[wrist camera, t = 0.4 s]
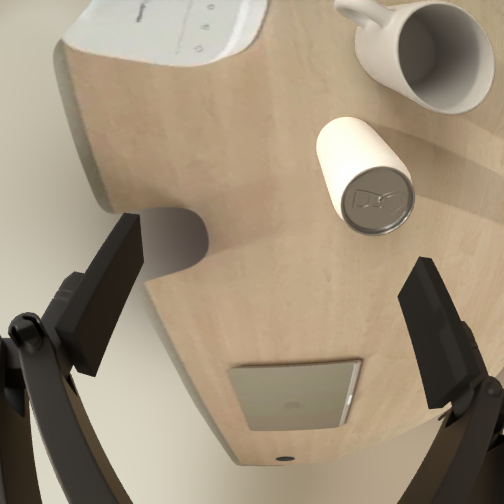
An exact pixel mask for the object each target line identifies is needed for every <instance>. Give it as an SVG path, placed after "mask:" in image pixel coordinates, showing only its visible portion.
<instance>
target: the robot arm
mask: <svg viewBox="0 0 504 504" xmlns="http://www.w3.org/2000/svg"><path fill="white" fill-rule="evenodd" d="M143 263H144V257H143V247H142V238H141V225H140V215H138V214H130V213H124V214H123V215H122V217H121V218H120V220H119V221H118V222H117V224H116V225H115V227H114V229H113V230H112V231H111V233H110V234H109V236H108V238H107V239H106V240H105V242H104V243H103V245H102V247H101V248H100V250H99V251H98V253H97V254H96V256H95V257H94V259H93V261H92V262H91V264H90V266H89V267H88V269H87V270H86V272H85V274H84V273H79V272H73V273H72V274H71V275H69V276H68V277H67V278H66V279H65V280H64V281H63V283H62V284H61V286H60V288H59V291H57V292H56V294H55V296H54V299H52V301H51V302H50V304H49V306H48V307H47V309H46V311H45V313H44V314H43V316H42V318H41V320H40V318H39V316H37V315H36V314H35V313H30V312H26V313H22V314H20V315H18V316H16V317H15V318H14V319H13V321H11V324H10V326H9V329H8V334H9V336H10V337H11V338H2V337H1V336H0V504H42V500H41V495H40V490H39V485H38V480H37V474H36V467H35V461H34V453H33V446H32V437H31V436H32V435H31V425H30V410H29V400H30V403H31V407H32V410H33V414H34V417H35V420H36V423H37V426H38V429H39V432H40V435H41V438H42V441H43V444H44V446H45V449H46V452H47V454H48V457H49V460H50V462H51V465H52V467H53V469H54V472H55V474H56V477H57V479H58V481H59V483H60V485H61V488H62V490H63V492H64V494H65V496H66V498H67V500H68V502H69V504H133V502H132V501H131V500H130V497H129V496H128V494H127V493H126V491H125V489H124V487H123V486H122V484H121V482H120V481H119V479H118V477H117V475H116V473H115V471H114V470H113V468H112V466H111V464H110V462H109V460H108V458H107V456H106V454H105V453H104V450H103V448H102V446H101V444H100V442H99V440H98V438H97V436H96V434H95V431H94V429H93V427H92V425H91V423H90V420H89V418H88V416H87V413H86V411H85V409H84V407H83V404H82V401H81V399H80V396H79V394H78V391H77V389H76V386H75V383H74V381H73V378H72V375H71V374H70V371H71V369H72V366H73V365H74V366H75V368H76V370H77V372H79V373H83V374H86V375H89V376H92V377H95V376H96V374H97V371H98V368H99V366H100V363H101V360H102V358H103V355H104V353H105V350H106V347H107V345H108V343H109V340H110V338H111V335H112V333H113V330H114V328H115V326H116V323H117V321H118V319H119V316H120V314H121V312H122V309H123V307H124V305H125V302H126V300H127V298H128V296H129V293H130V291H131V289H132V287H133V285H134V282H135V280H136V278H137V276H138V274H139V272H140V269H141V267H142V265H143ZM397 297H398V300H399V303H400V306H401V309H402V312H403V315H404V318H405V321H406V325H407V328H408V331H409V334H410V338H411V341H412V345H413V348H414V352H415V355H416V359H417V363H418V367H419V370H420V374H421V378H422V382H423V386H424V390H425V395H426V399H427V403H428V408H429V409H436V408H443V407H444V406H445V405H446V404H448V403H449V402H450V401H451V404H452V407H451V408H450V409H449V410H447V411H446V412H445V413H444V414H443V415H441V416H440V417H439V419H438V420H439V421H440V420H441V419H442V418H444V417H445V418H444V421H443V422H442V425H441V427H440V429H439V431H438V433H437V435H436V437H435V440H434V441H433V444H432V445H431V447H430V449H429V451H428V453H427V455H426V457H425V458H424V460H423V462H422V464H421V466H420V467H419V469H418V471H417V473H416V474H415V476H414V478H413V479H412V481H411V483H410V484H409V486H408V487H407V489H406V491H405V492H404V494H403V495H402V497H401V499H400V500H399V501H398V503H397V504H504V435H503V429H504V389H503V388H502V385H501V384H500V382H499V381H498V380H497V379H496V378H494V377H492V376H489V375H488V372H487V369H486V367H485V364H484V361H483V358H482V356H481V353H480V351H479V349H478V346H477V343H476V341H475V338H474V336H473V333H472V331H471V329H470V328H469V327H468V325H467V324H466V323H465V321H461V320H460V317H459V315H458V313H457V311H456V308H455V306H454V304H453V302H452V299H451V297H450V295H449V293H448V291H447V289H446V287H445V284H444V282H443V280H442V278H441V276H440V274H439V272H438V270H437V268H436V266H435V264H434V262H433V260H432V259H431V258H426V257H420V256H419V258H418V260H417V262H416V264H415V266H414V267H413V269H412V271H411V273H410V275H409V277H408V279H407V280H406V282H405V284H404V286H403V288H402V289H401V291H400V293H399V295H398V296H397Z"/></svg>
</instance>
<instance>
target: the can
mask: <svg viewBox="0 0 504 504" xmlns="http://www.w3.org/2000/svg"><path fill="white" fill-rule="evenodd" d="M316 148H317V155H318V158H319V162H320V165H321V168H322V171H323V174H324V178H325V181H326V184H327V187H328V190H329V194H330V197H331V200H332V203H333V205H334V208H335V210H336V212H337V213H338V215H339V216H340V217H341V218H342V219H343V220H344V221H345V222H346V223H347V225H348V226H349V227H350V228H351V229H353V230H354V231H356V232H358V233H360V234H363V235H368V236H379V235H384V234H387V233H390V232H392V231H394V230H396V229H397V228H399V227H400V226H401V225H402V224H403V223H404V222H405V221H406V220H407V219H408V217H409V216H410V214H411V212H412V210H413V207H414V203H415V192H414V188H413V185H412V179H411V176H410V173H409V171H408V170H407V168H406V166H405V165H404V164H403V162H402V161H401V160H400V159H399V158H398V156H397V155H396V154H395V153H394V152H393V151H392V149H391V148H390V147H389V146H388V145H387V144H386V143H385V142H384V140H383V139H382V138H381V137H380V136H379V135H378V134H377V133H376V132H375V131H374V130H373V129H372V128H371V127H370V126H369V125H368V124H367V123H365V122H364V121H362V120H360V119H357V118H353V117H342V118H338V119H335V120H333V121H331V122H330V123H328V124H327V125H326V126H325V127H324V128H323V129H322V131H321V132H320V134H319V136H318V139H317V146H316Z"/></svg>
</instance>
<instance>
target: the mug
mask: <svg viewBox="0 0 504 504" xmlns="http://www.w3.org/2000/svg"><path fill="white" fill-rule="evenodd" d="M334 7H335V9H336V11H337V12H338V13H340V14H341V15H343V16H344V17H346V18H348V19H349V20H351V21H353V22H354V23H356V24H358V25H359V26H358V28H357V30H356V34H355V50H356V55H357V57H358V60H359V62H360V64H361V66H362V67H363V69H364V70H365V71H366V72H367V74H368V75H370V76H371V77H372V78H373V79H374V80H376V81H377V82H379V83H380V84H382V85H384V86H386V87H389V88H391V89H393V90H395V91H396V92H398V93H400V94H402V95H404V96H406V97H407V98H409V99H411V100H413V101H414V102H416V103H418V104H420V105H421V106H423V107H425V108H427V109H429V110H431V111H433V112H436V113H439V114H444V115H459V114H464V113H467V112H469V111H471V110H473V109H475V108H476V107H477V106H479V105H480V104H481V103H482V102H483V101H484V99H485V98H486V97H487V95H488V93H489V91H490V89H491V87H492V84H493V81H494V76H495V57H494V52H493V48H492V45H491V42H490V40H489V38H488V35H487V34H486V32H485V30H484V29H483V27H482V26H481V25H480V23H479V22H478V21H477V20H476V19H475V18H474V17H473V16H472V15H471V14H470V13H468V12H467V11H466V10H464V9H463V8H461V7H459V6H457V5H455V4H452V3H449V2H445V1H438V0H429V1H421V2H414V3H408V4H402V5H396V6H389V7H385V6H383V5H382V4H380V3H379V2H377V1H375V0H335V2H334Z"/></svg>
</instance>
